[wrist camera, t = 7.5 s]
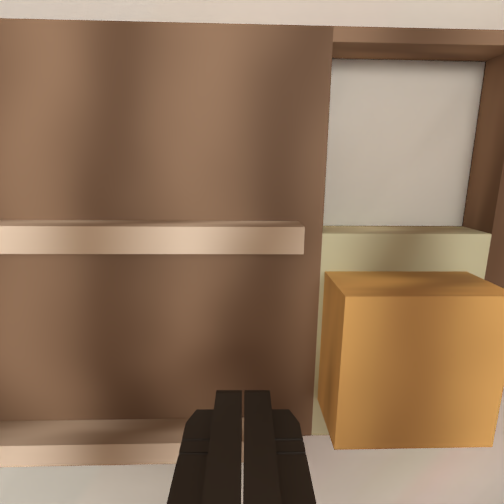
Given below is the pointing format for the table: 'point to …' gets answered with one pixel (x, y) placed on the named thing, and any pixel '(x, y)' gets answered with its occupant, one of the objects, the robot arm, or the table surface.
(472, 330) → the ochre block
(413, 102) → the table surface
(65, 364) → the compartment board
